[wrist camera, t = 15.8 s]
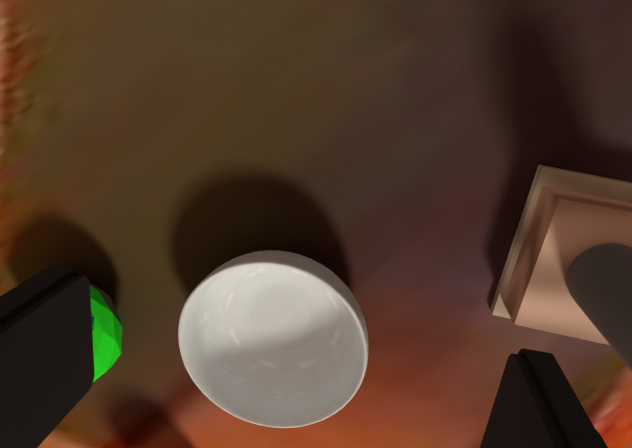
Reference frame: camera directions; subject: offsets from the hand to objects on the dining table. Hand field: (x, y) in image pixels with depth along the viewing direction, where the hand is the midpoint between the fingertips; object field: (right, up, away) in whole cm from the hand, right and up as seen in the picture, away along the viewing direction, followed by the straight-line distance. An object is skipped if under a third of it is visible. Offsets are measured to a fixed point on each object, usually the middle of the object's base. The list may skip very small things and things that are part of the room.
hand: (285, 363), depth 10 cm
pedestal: (+24, 0, +31) cm, 39 cm away
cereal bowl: (-2, -6, +37) cm, 38 cm away
